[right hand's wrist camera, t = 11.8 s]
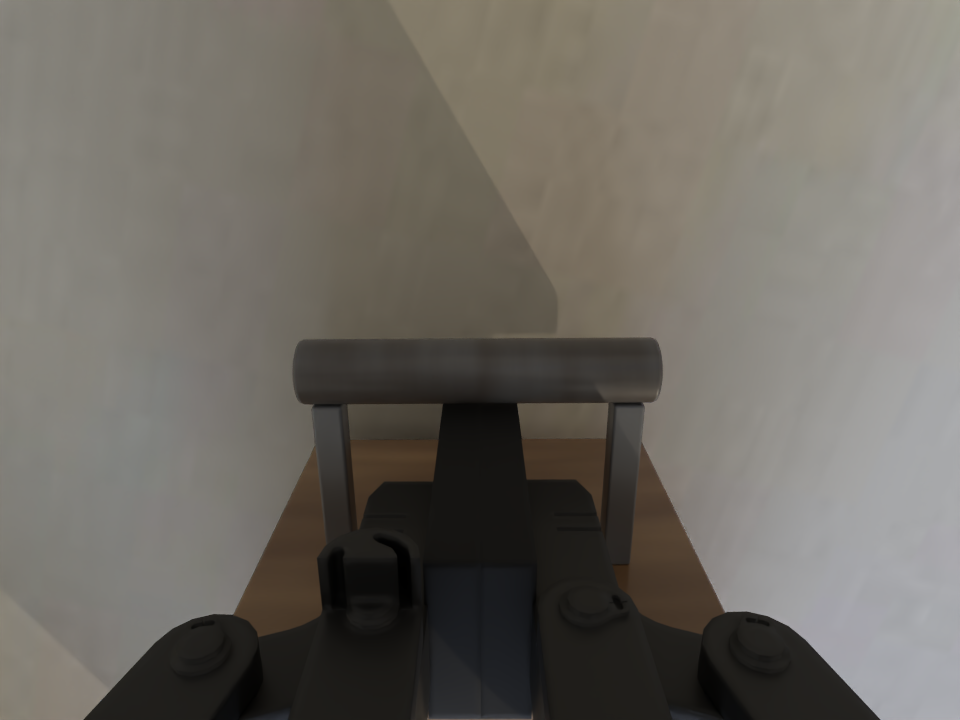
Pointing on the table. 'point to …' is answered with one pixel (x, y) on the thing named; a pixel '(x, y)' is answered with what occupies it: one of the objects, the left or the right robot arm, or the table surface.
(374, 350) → the drawer
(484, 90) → the table surface
